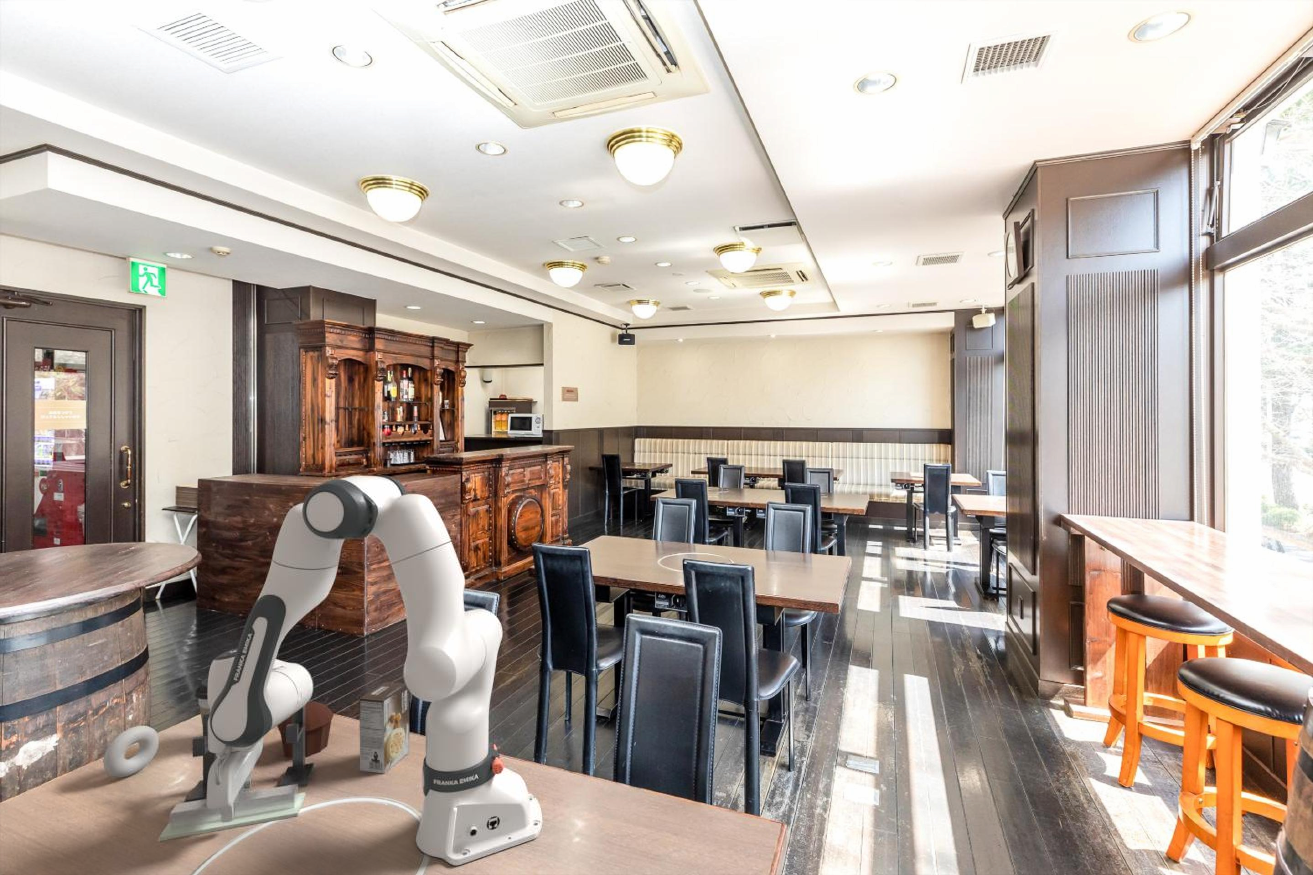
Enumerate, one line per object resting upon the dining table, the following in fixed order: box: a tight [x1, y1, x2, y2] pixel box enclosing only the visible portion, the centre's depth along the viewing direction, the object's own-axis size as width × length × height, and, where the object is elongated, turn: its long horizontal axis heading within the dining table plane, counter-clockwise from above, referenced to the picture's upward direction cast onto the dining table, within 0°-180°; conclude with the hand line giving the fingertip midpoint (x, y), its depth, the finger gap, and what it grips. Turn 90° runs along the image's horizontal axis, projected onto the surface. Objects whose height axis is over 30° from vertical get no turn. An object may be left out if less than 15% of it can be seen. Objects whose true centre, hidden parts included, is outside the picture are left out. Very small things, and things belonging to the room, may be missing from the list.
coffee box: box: [358, 681, 410, 774], centre depth 135 cm, size 9×6×16 cm
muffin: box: [276, 701, 334, 759], centre depth 141 cm, size 12×11×10 cm
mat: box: [158, 792, 307, 842], centre depth 116 cm, size 22×7×1 cm, turn 109°
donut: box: [102, 725, 160, 778], centre depth 130 cm, size 10×4×10 cm, turn 161°
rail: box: [169, 784, 299, 830], centre depth 116 cm, size 20×3×3 cm, turn 109°
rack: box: [185, 705, 315, 802], centre depth 125 cm, size 21×8×16 cm, turn 109°
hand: (236, 804), depth 116 cm, fingers open, 8 cm apart
